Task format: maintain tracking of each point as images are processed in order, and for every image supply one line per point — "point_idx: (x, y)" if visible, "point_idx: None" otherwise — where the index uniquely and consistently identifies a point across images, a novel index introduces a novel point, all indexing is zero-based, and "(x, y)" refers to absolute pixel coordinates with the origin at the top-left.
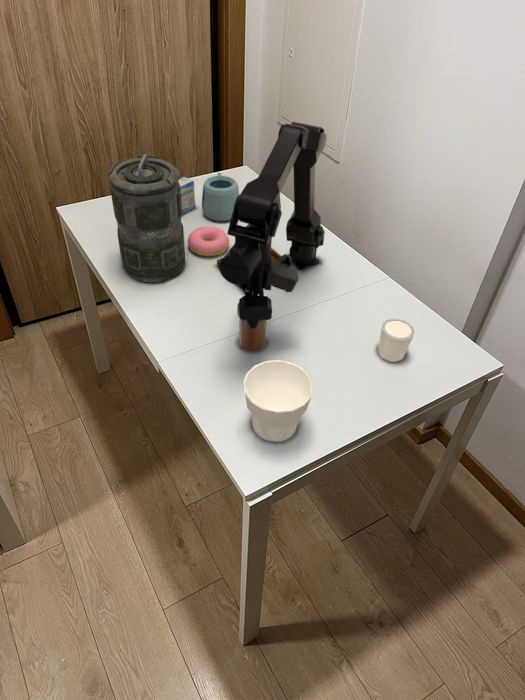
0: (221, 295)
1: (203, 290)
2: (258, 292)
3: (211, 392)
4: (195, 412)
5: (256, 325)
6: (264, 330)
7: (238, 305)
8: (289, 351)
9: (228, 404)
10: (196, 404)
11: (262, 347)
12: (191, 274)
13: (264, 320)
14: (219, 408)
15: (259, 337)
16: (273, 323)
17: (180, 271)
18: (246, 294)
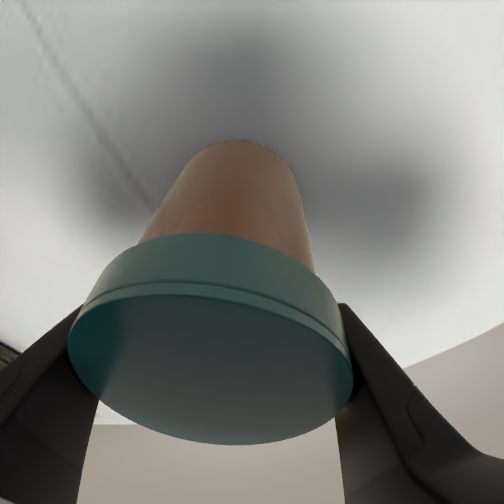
0: (25, 283)
1: (30, 319)
2: (39, 381)
3: (439, 318)
4: (469, 338)
5: (367, 331)
6: (275, 196)
7: (206, 442)
8: (307, 28)
9: (487, 283)
10: (453, 340)
11: (279, 156)
12: (3, 332)
13: (320, 281)
14: (486, 300)
15: (301, 211)
16: (100, 100)
17: (10, 354)
18: (89, 415)
